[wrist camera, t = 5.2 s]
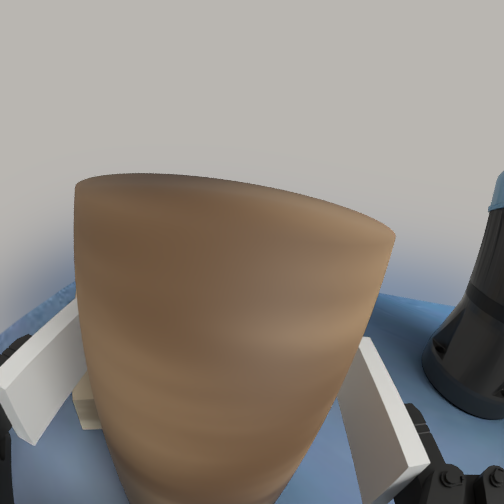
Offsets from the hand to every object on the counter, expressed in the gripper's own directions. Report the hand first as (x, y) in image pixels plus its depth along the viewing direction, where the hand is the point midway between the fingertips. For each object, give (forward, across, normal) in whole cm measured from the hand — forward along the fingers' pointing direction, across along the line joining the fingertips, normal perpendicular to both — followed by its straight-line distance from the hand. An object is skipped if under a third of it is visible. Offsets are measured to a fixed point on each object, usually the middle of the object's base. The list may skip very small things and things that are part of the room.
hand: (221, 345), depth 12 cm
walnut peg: (-4, 0, -9) cm, 10 cm away
